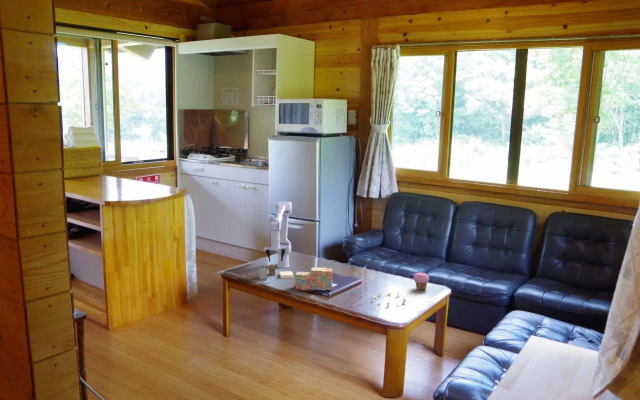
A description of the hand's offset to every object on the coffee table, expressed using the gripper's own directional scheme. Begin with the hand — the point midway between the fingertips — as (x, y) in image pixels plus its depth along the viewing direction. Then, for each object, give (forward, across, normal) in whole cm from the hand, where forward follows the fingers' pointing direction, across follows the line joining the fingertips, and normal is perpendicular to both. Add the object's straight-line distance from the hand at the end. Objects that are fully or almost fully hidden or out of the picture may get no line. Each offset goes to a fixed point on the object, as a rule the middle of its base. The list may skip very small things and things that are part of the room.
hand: (275, 261), depth 334 cm
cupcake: (+10, +82, -39) cm, 92 cm away
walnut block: (+10, -2, +3) cm, 10 cm away
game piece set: (+10, +58, -55) cm, 80 cm away
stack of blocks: (+10, +20, -29) cm, 36 cm away
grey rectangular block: (+10, -8, -3) cm, 13 cm away
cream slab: (+10, +7, -2) cm, 12 cm away
